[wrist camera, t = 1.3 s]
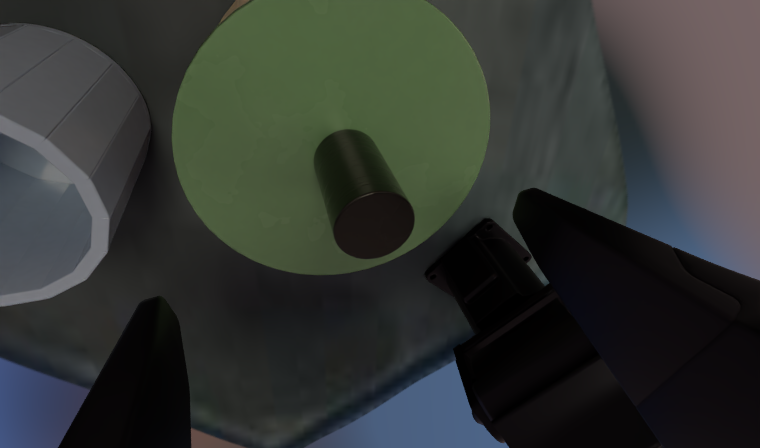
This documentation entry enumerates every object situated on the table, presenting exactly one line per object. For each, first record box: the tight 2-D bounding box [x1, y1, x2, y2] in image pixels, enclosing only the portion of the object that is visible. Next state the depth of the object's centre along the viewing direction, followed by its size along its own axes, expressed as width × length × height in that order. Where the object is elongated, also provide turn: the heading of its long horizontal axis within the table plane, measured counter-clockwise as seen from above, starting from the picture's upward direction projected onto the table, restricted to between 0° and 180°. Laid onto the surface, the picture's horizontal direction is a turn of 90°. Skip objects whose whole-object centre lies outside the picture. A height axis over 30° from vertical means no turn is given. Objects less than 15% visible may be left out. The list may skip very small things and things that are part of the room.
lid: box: [171, 0, 490, 275], centre depth 13 cm, size 11×11×5 cm
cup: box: [0, 23, 151, 306], centre depth 15 cm, size 7×7×8 cm
